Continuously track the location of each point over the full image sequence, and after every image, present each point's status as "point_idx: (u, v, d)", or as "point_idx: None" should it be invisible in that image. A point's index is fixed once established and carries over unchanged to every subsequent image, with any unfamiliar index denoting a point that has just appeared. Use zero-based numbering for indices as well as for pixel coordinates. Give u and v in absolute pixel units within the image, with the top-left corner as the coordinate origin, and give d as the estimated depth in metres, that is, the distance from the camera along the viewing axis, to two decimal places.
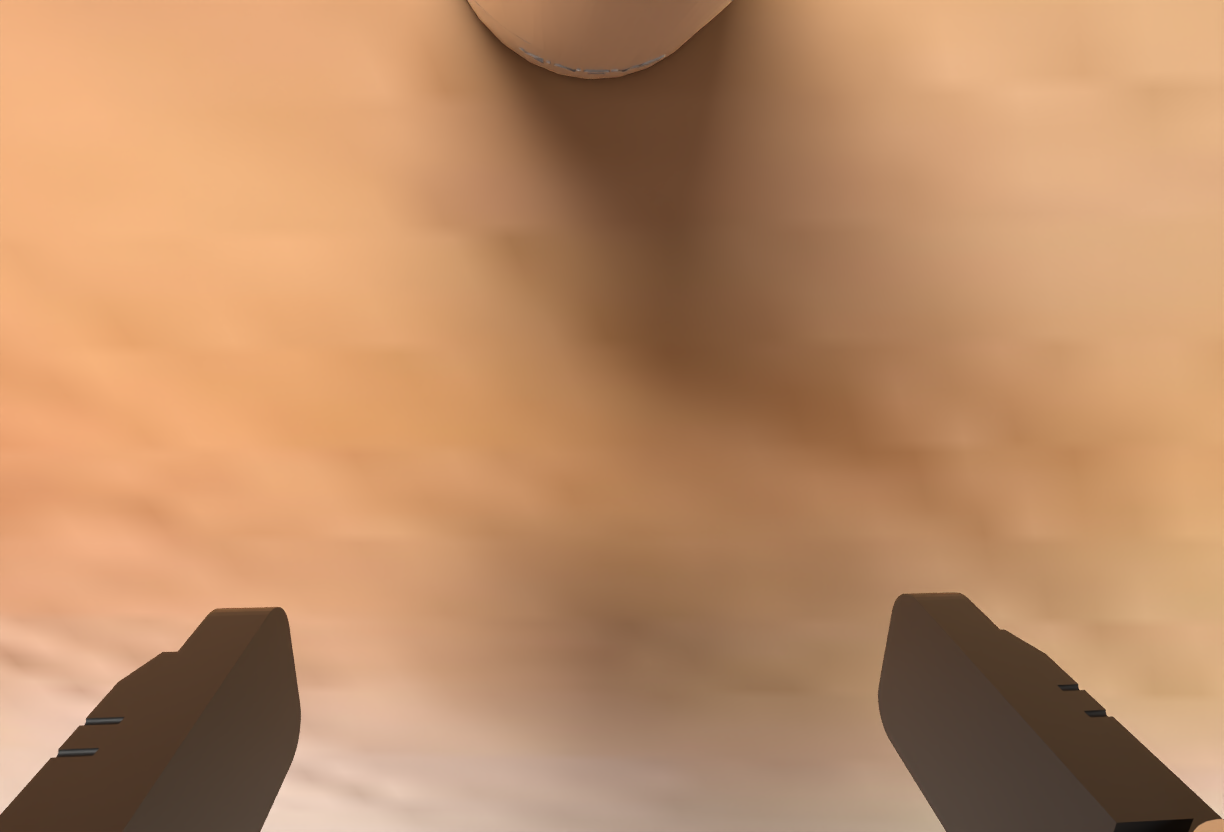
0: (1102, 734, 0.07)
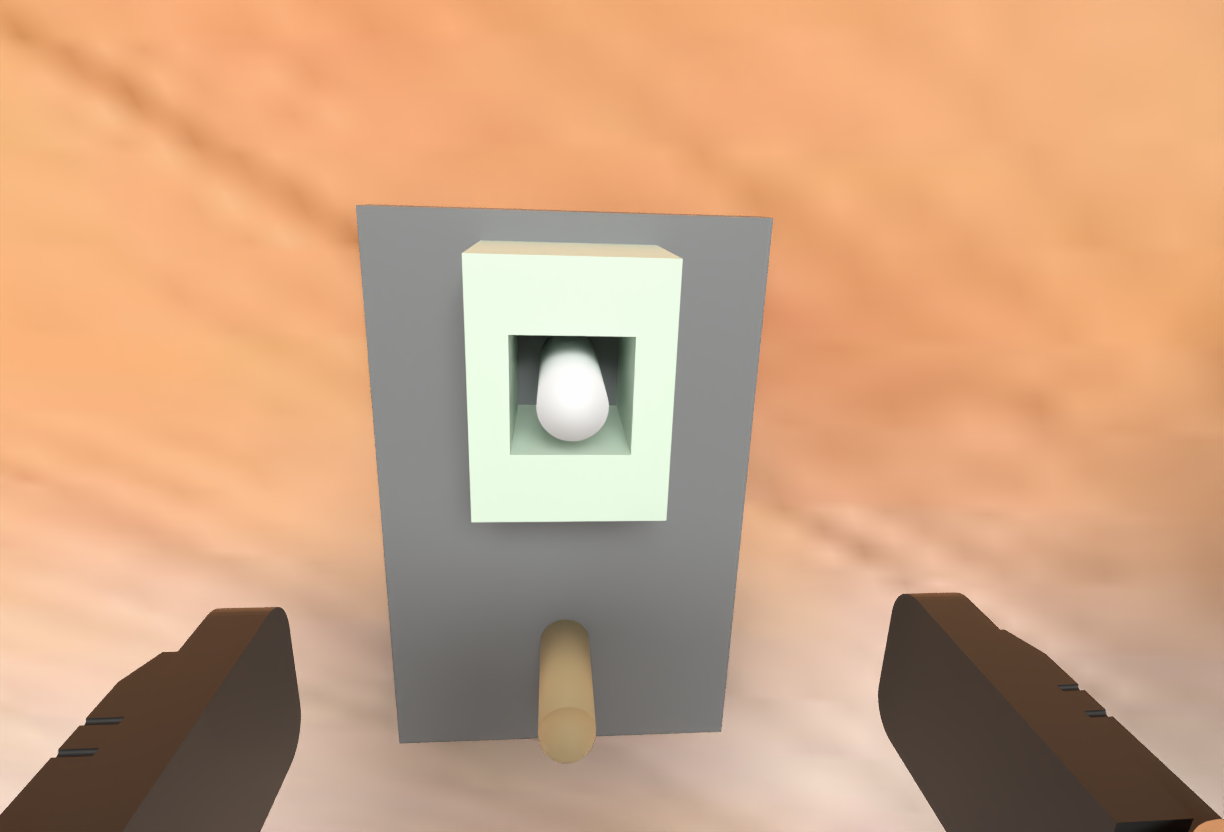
0: (1102, 734, 0.07)
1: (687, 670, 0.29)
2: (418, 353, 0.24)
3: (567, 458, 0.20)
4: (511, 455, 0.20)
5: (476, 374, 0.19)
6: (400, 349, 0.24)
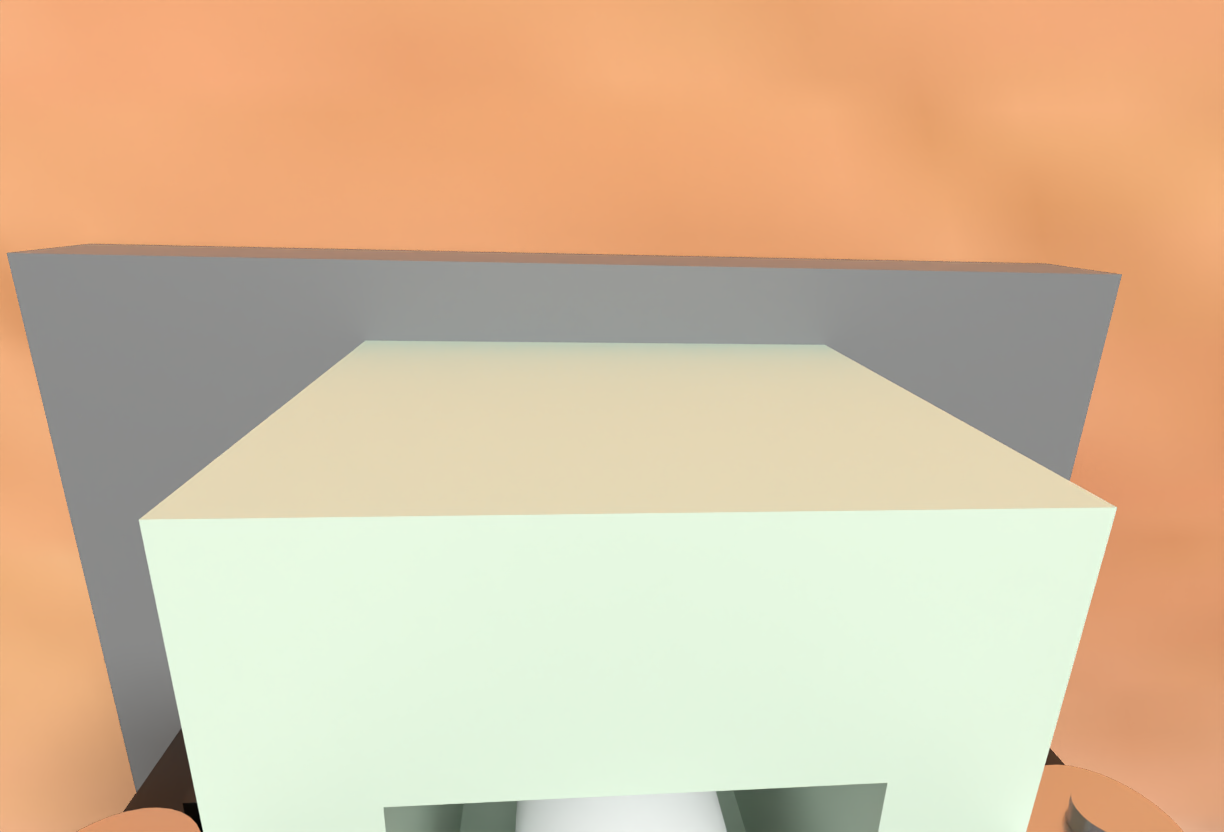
0: None
1: None
2: None
3: None
4: None
5: None
6: None
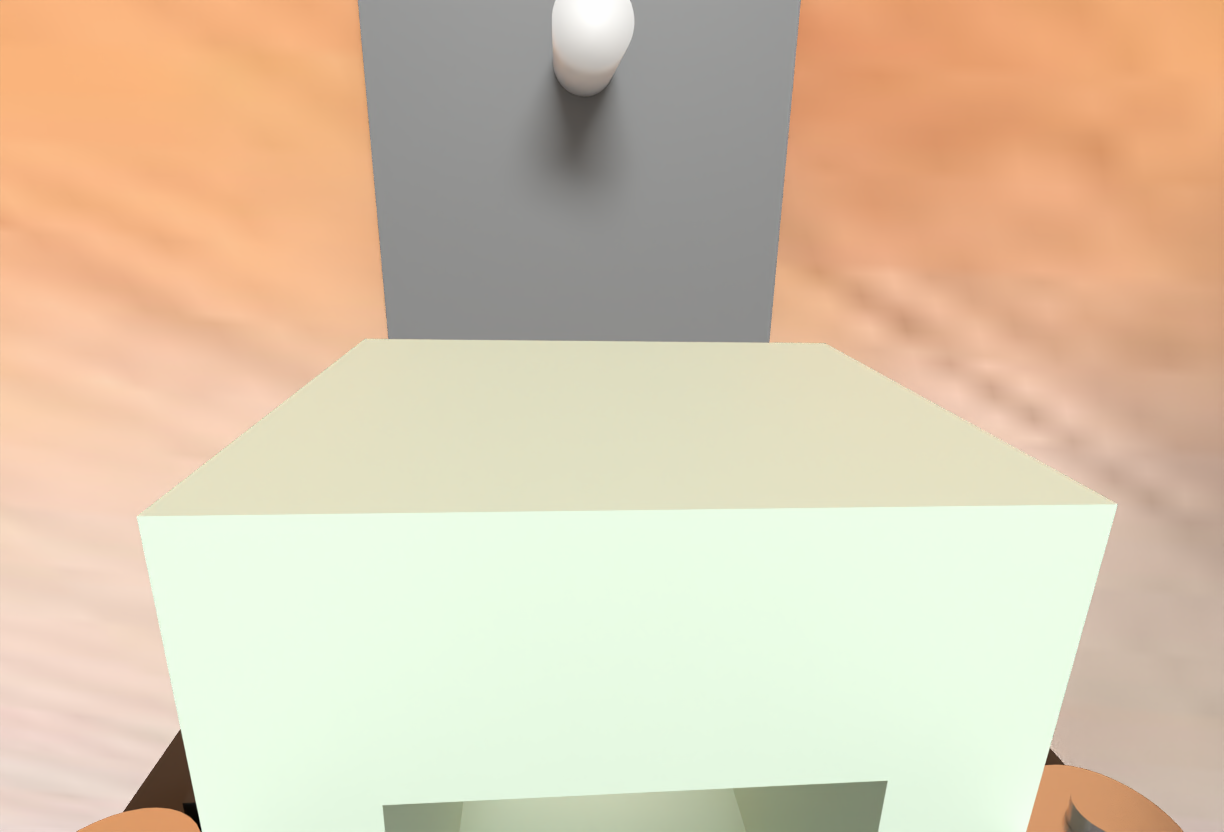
0: None
1: None
2: (419, 55, 0.22)
3: None
4: None
5: None
6: (398, 49, 0.22)
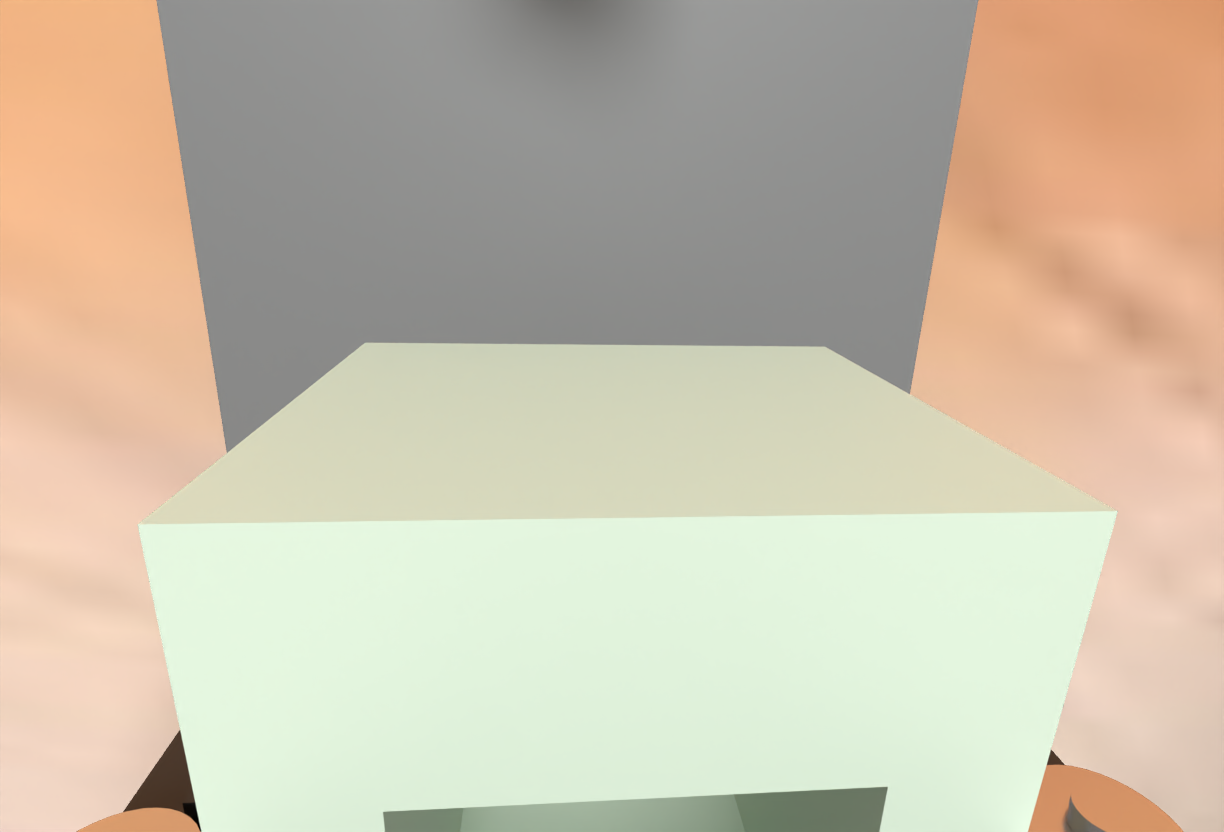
0: None
1: None
2: None
3: None
4: None
5: None
6: None
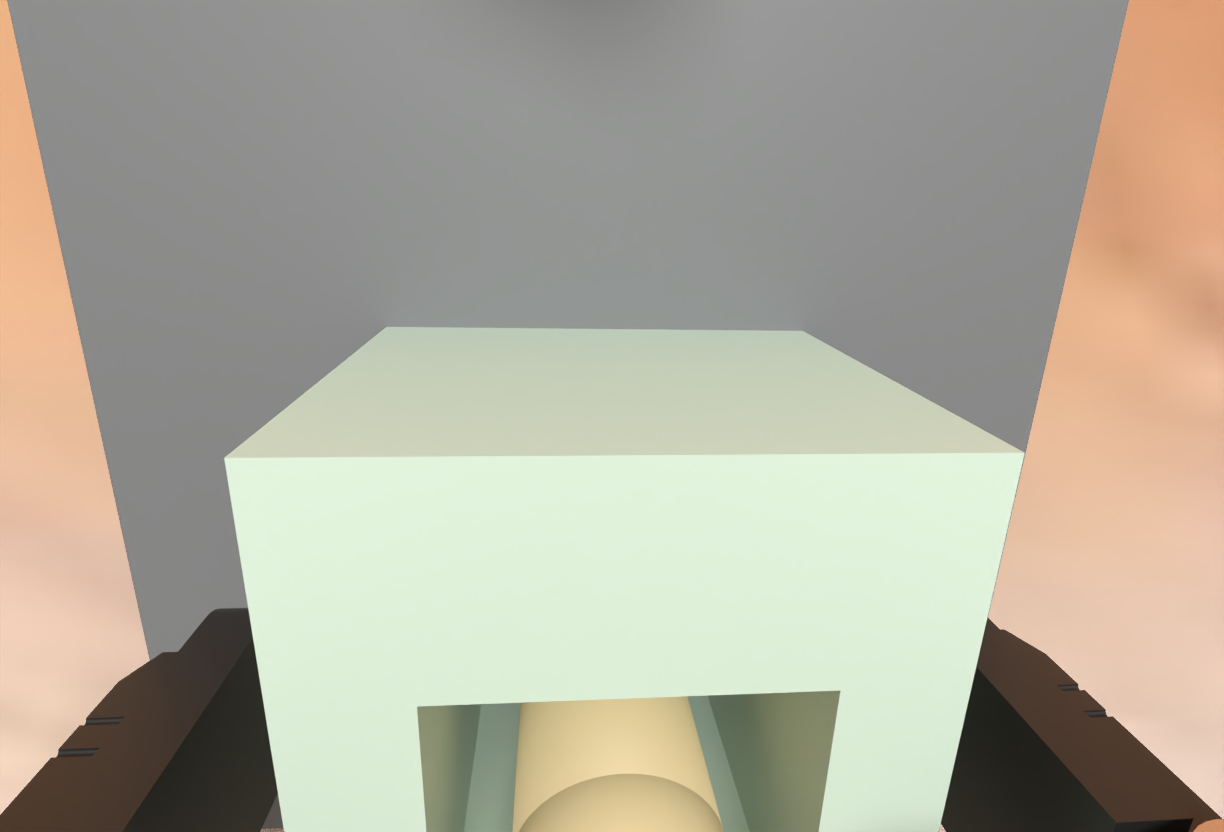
0: (1102, 734, 0.07)
1: None
2: None
3: None
4: None
5: (318, 820, 0.06)
6: None
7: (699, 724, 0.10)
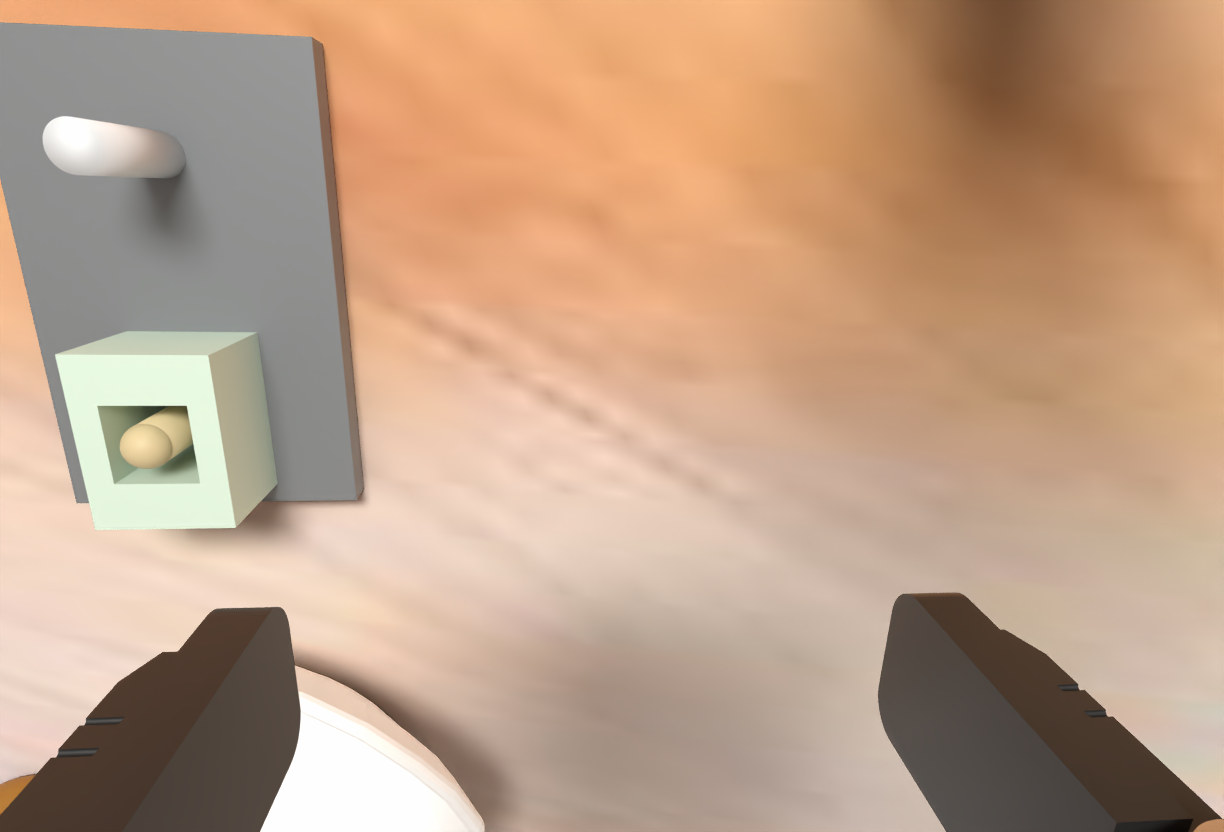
0: (1102, 734, 0.07)
1: (316, 441, 0.35)
2: (35, 149, 0.30)
3: (154, 486, 0.30)
4: (115, 484, 0.30)
5: (80, 431, 0.29)
6: (19, 145, 0.30)
7: None
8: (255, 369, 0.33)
